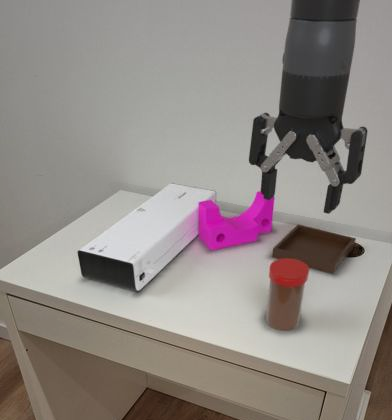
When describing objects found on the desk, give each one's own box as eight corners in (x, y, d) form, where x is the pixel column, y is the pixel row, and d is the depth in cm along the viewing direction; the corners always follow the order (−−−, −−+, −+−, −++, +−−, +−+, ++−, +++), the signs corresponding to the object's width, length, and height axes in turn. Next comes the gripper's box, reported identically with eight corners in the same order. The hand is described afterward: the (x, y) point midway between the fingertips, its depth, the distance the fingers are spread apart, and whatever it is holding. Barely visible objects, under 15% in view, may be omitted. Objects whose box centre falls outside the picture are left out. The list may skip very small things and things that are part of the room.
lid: (278, 263, 75) (279, 254, 74) (313, 273, 72) (315, 264, 71) (262, 280, 71) (263, 271, 70) (298, 291, 69) (300, 282, 68)
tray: (296, 232, 101) (297, 224, 99) (354, 246, 96) (356, 238, 94) (272, 257, 93) (273, 248, 91) (333, 274, 88) (335, 265, 86)
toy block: (210, 250, 95) (211, 214, 90) (198, 236, 99) (198, 202, 94) (277, 236, 99) (281, 201, 94) (262, 224, 104) (265, 190, 99)
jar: (274, 307, 80) (280, 258, 74) (303, 317, 77) (312, 267, 72) (260, 324, 76) (265, 273, 70) (290, 334, 74) (298, 283, 68)
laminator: (171, 209, 110) (170, 182, 106) (220, 219, 106) (221, 191, 102) (82, 281, 86) (76, 250, 82) (141, 297, 82) (138, 265, 78)
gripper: (389, 66, 54) (358, 206, 64) (272, 56, 59) (262, 185, 70) (369, 79, 49) (340, 227, 59) (244, 65, 54) (237, 203, 65)
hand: (297, 204), depth 64 cm, fingers open, 8 cm apart
